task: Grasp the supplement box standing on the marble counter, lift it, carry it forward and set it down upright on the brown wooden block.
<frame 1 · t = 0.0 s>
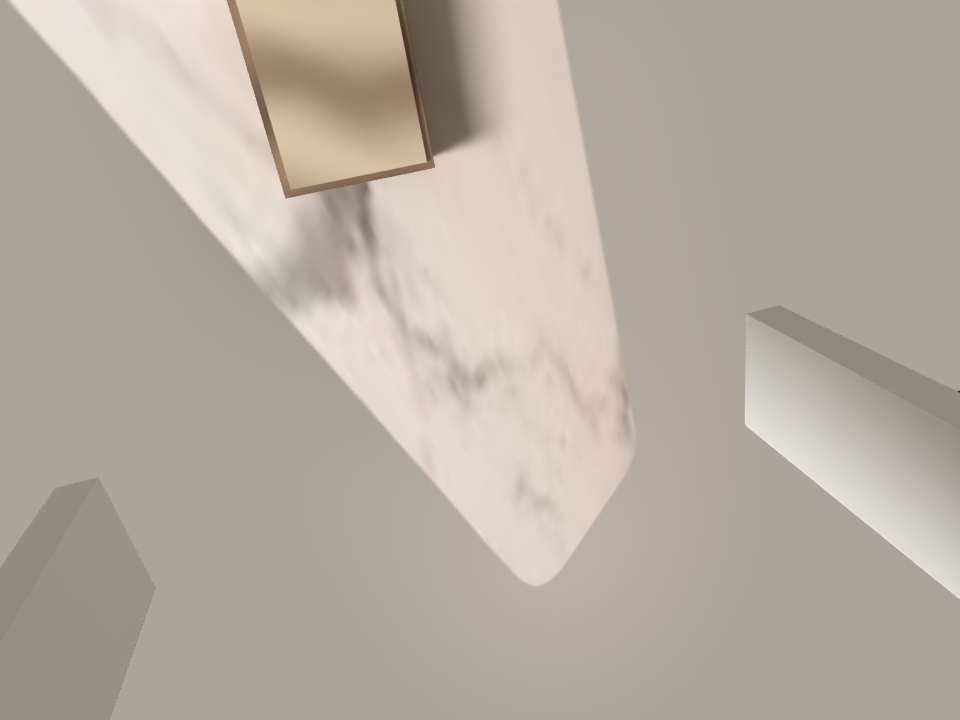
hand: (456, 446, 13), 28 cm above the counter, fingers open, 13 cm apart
brown wooden block: (336, 81, 35), on the counter
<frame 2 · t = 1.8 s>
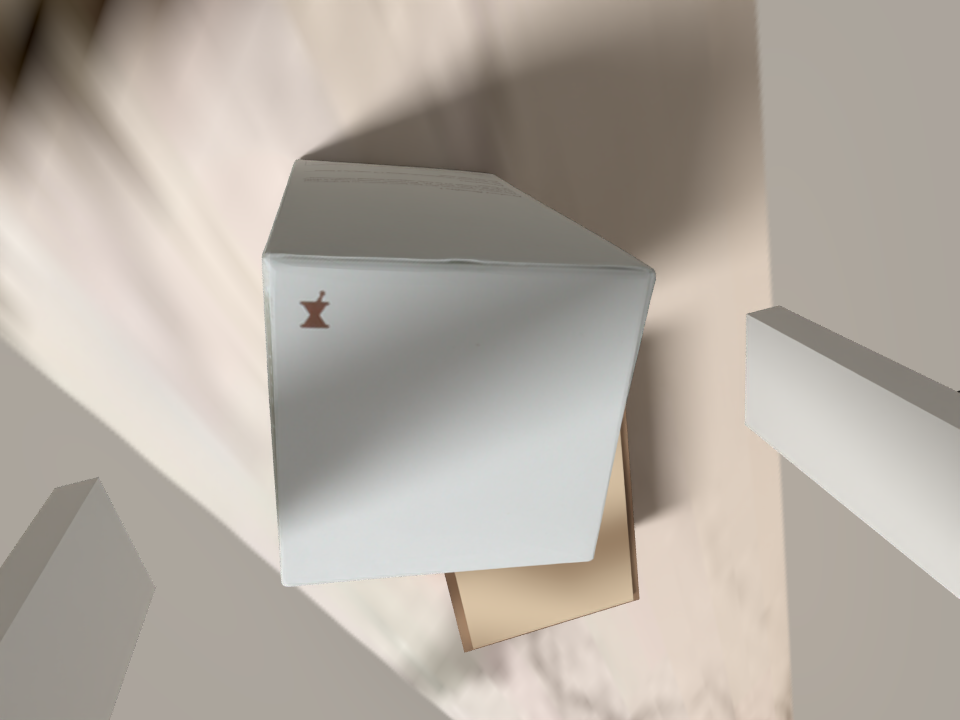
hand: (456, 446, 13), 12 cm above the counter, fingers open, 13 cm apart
brown wooden block: (513, 480, 29), on the counter
supplement box: (395, 264, 24), on the counter
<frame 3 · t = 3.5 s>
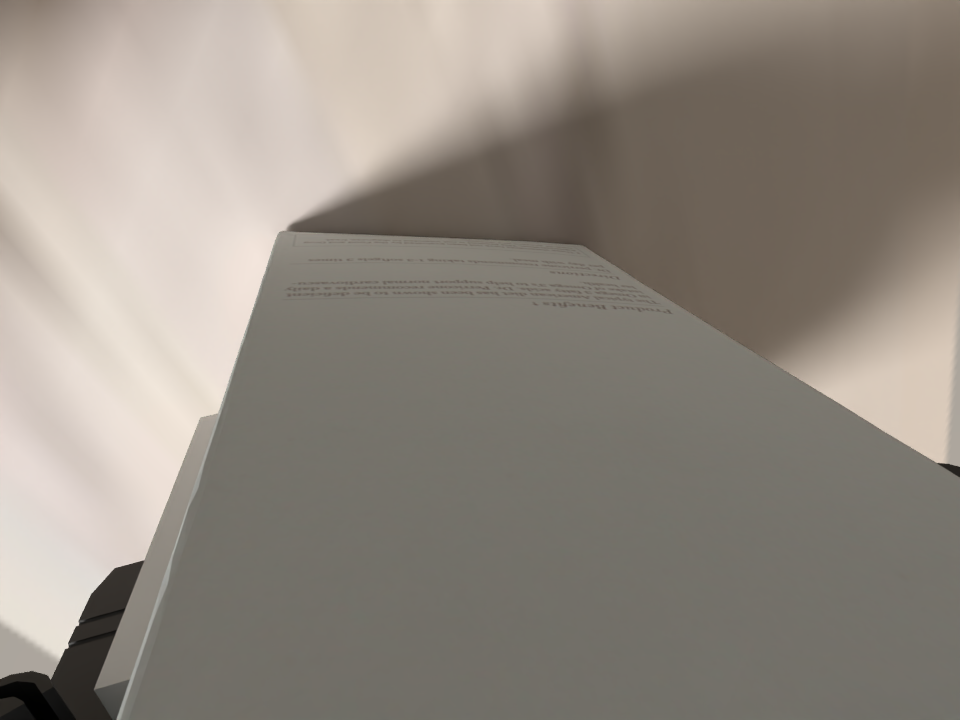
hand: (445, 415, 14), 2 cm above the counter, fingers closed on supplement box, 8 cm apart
supplement box: (431, 376, 16), on the counter, touching gripper
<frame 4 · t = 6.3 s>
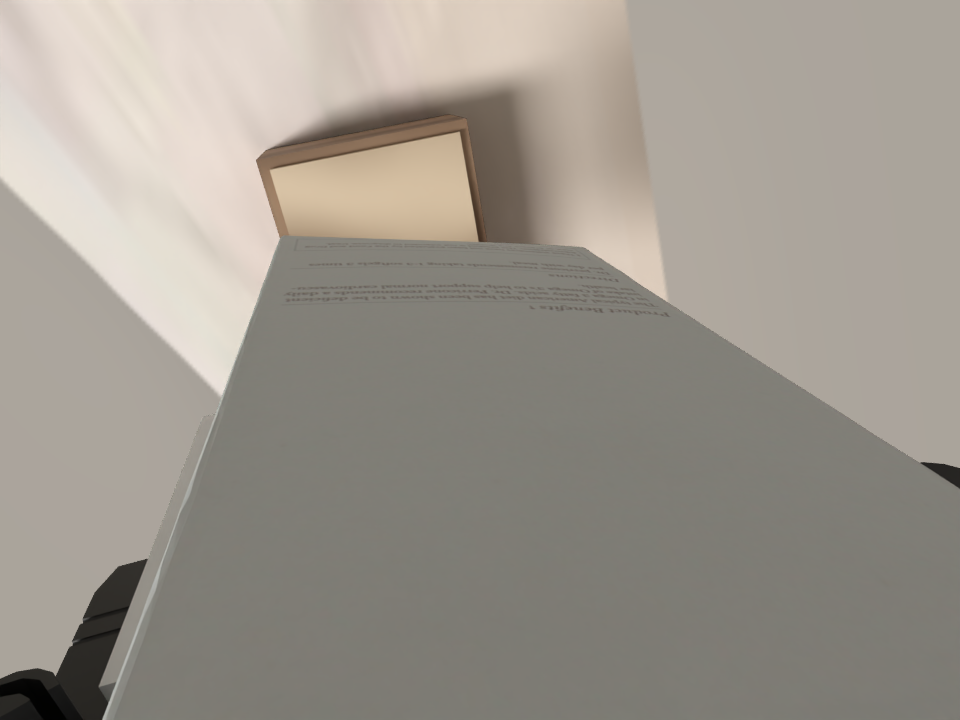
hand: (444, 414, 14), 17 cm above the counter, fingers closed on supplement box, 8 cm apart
brown wooden block: (385, 244, 29), on the counter
supplement box: (433, 378, 16), point 15 cm above the counter, touching gripper
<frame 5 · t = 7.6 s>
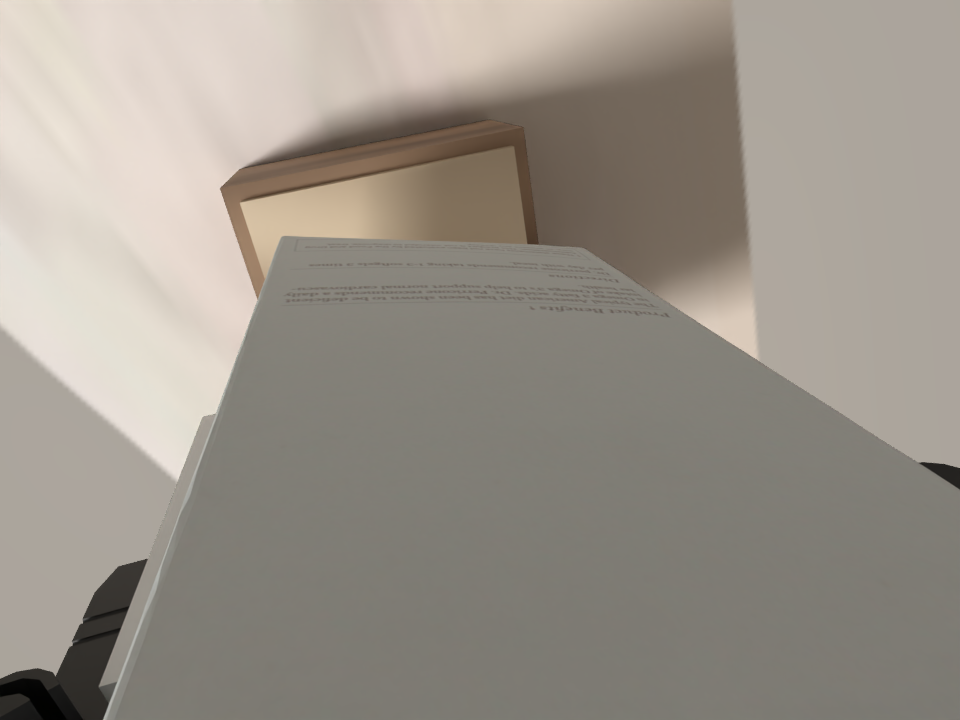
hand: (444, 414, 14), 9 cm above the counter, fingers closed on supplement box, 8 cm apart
brown wooden block: (402, 291, 22), on the counter
supplement box: (433, 379, 16), point 7 cm above the counter, touching gripper
when the fingers open (7 cm above the counter, at t = 9.0 s): supplement box stays where it is, resting on brown wooden block.
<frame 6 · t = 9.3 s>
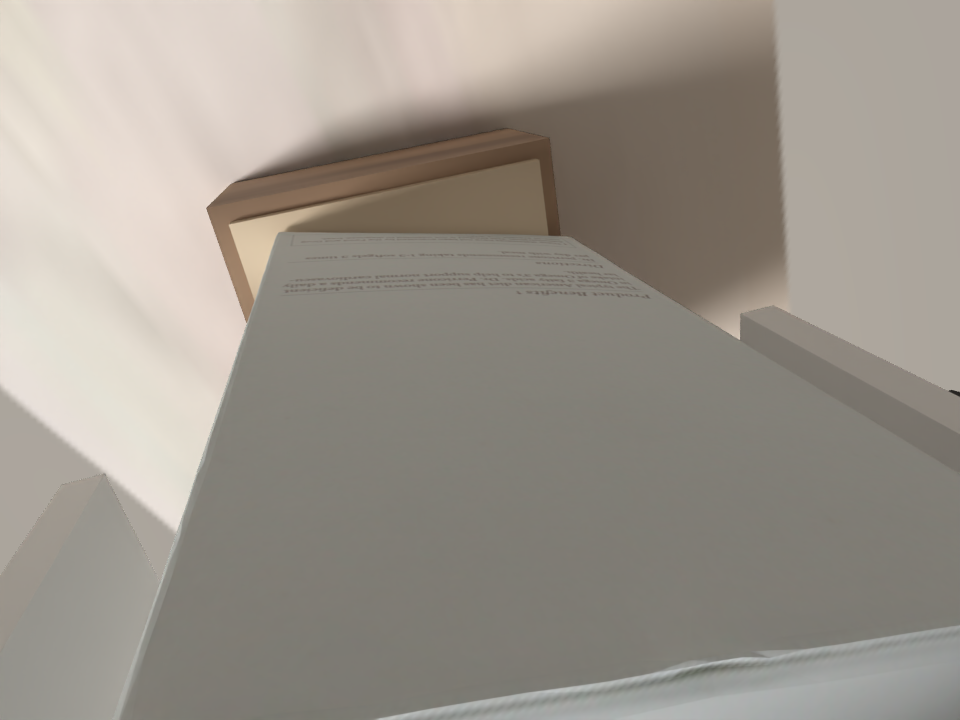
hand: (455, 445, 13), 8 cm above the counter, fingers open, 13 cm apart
brown wooden block: (410, 315, 20), on the counter
supplement box: (429, 368, 17), point 4 cm above the counter, touching brown wooden block
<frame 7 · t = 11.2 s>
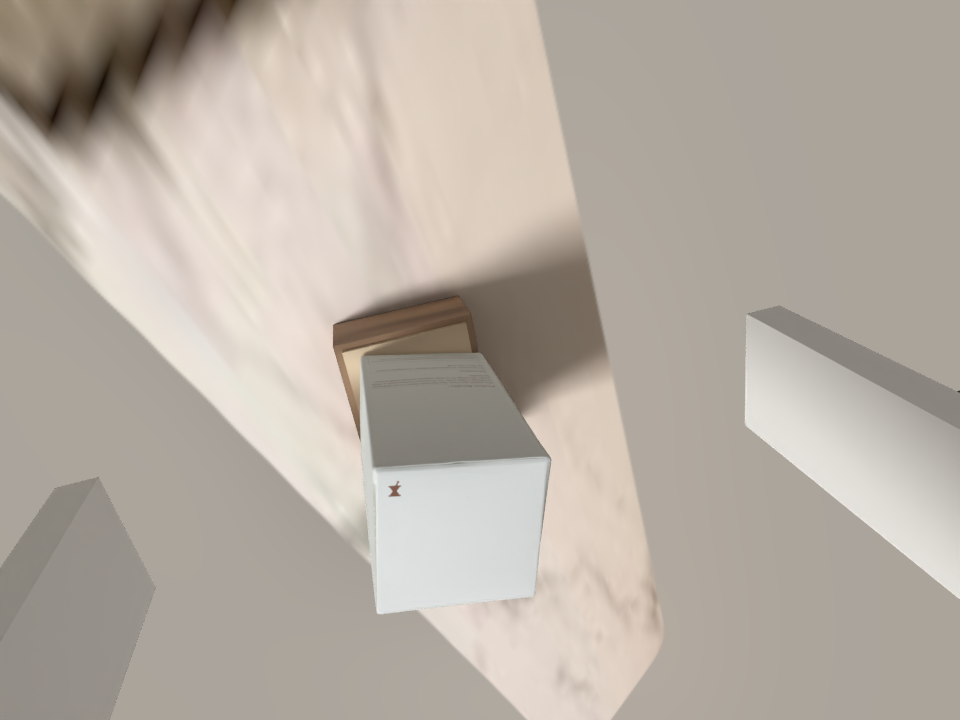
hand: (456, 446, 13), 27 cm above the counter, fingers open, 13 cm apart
brown wooden block: (413, 381, 42), on the counter
supplement box: (421, 408, 38), point 4 cm above the counter, touching brown wooden block
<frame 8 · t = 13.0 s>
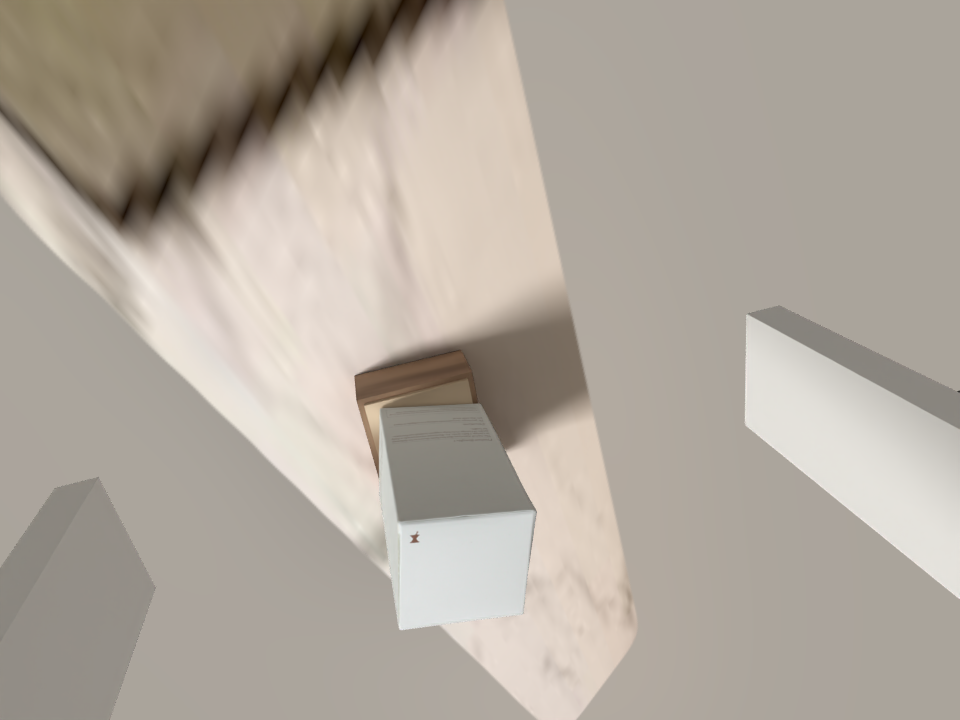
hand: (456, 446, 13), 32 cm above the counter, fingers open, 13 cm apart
brown wooden block: (422, 420, 48), on the counter
supplement box: (430, 448, 45), point 4 cm above the counter, touching brown wooden block
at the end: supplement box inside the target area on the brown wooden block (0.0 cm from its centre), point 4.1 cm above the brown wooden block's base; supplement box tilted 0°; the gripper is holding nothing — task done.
